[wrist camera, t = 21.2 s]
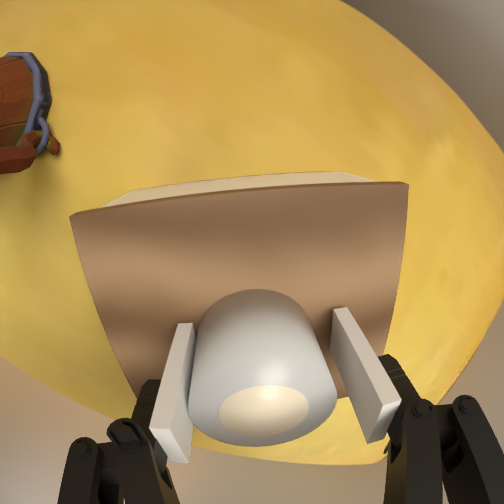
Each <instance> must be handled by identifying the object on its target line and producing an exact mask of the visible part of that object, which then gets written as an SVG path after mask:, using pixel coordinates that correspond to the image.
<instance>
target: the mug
mask: <svg viewBox="0 0 504 504" xmlns="http://www.w3.org/2000/svg"><path fill="white" fill-rule="evenodd" d="M50 103H51V95H50V89H49V83H48V77H47V72H46V70H45V69H44V68H43V66H42V65H41V64H40V62H39V61H38V60H37V58H36V57H35V56H34V54H33V53H31V52H9V53H7V54H6V55H5V56H3V57H1V58H0V174H6V173H16V172H20V171H22V170H25V169H27V168H29V167H30V166H31V165H32V163H33V161H34V159H35V158H36V156H37V155H36V154H38V153H40V152H41V151H42V150H43V149H44V148H46V149H47V150H49V151H50V152H51V153H52V154H57V152H58V150H59V146H60V143H59V142H58V141H57V140H56V139H55V138H54V136H53V135H52V134H51V133H50V132H49V125H48V124H47V122H46V120H45V119H46V116H47V112H48V109H49V106H50ZM34 146H38V147H36V148H34Z"/></svg>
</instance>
